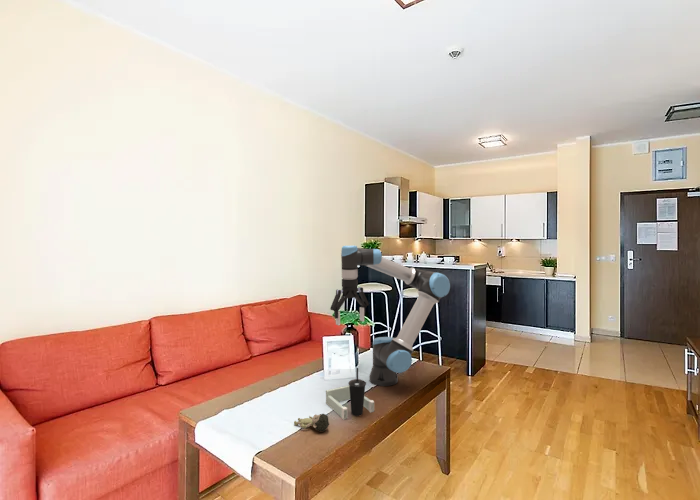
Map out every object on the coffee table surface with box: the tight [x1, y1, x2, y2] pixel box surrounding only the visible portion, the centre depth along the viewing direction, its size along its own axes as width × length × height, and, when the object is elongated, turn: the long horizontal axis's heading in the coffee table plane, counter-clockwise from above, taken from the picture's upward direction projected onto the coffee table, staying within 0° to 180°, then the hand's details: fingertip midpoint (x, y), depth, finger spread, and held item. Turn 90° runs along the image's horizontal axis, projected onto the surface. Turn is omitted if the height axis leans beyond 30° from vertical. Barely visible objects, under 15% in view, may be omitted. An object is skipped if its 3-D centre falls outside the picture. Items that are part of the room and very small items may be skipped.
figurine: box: [293, 413, 330, 432], centre depth 152 cm, size 8×6×15 cm
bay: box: [325, 384, 375, 421], centre depth 170 cm, size 15×18×6 cm
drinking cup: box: [348, 367, 367, 417], centre depth 164 cm, size 8×8×20 cm
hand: (350, 322), depth 179 cm, fingers open, 13 cm apart
